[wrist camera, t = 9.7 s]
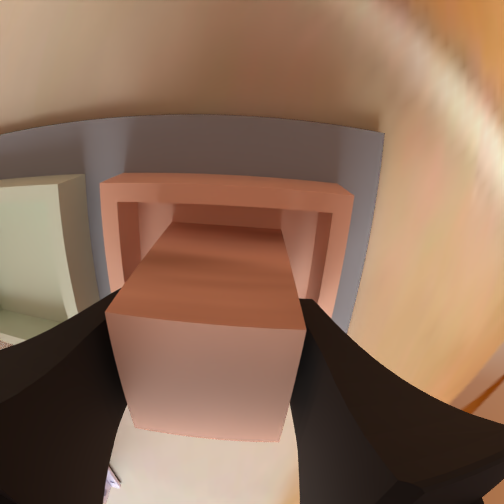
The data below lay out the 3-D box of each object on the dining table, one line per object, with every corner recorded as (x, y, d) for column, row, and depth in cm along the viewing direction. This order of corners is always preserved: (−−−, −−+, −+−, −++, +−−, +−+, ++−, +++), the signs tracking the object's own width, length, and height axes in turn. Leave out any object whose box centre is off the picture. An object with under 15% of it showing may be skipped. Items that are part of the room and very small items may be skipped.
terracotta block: (270, 320, 13) (278, 442, 7) (174, 313, 13) (134, 427, 7) (281, 229, 11) (306, 329, 6) (171, 221, 11) (104, 311, 6)
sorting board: (328, 377, 15) (338, 414, 13) (4, 335, 15) (-17, 358, 12) (378, 132, 11) (409, 136, 8) (-35, 144, 10) (-69, 152, 8)
